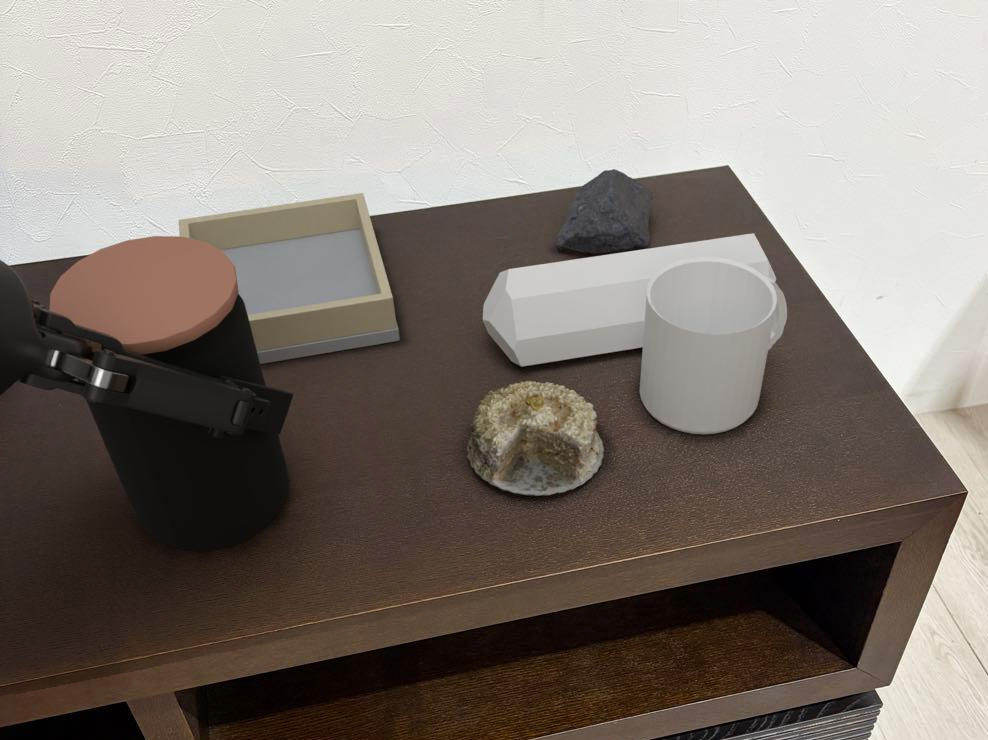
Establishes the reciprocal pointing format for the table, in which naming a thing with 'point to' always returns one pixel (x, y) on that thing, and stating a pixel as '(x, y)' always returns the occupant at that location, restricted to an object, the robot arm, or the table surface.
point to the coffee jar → (188, 344)
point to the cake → (534, 439)
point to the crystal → (591, 299)
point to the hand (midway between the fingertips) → (214, 383)
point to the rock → (607, 215)
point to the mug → (707, 343)
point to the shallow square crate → (305, 275)
